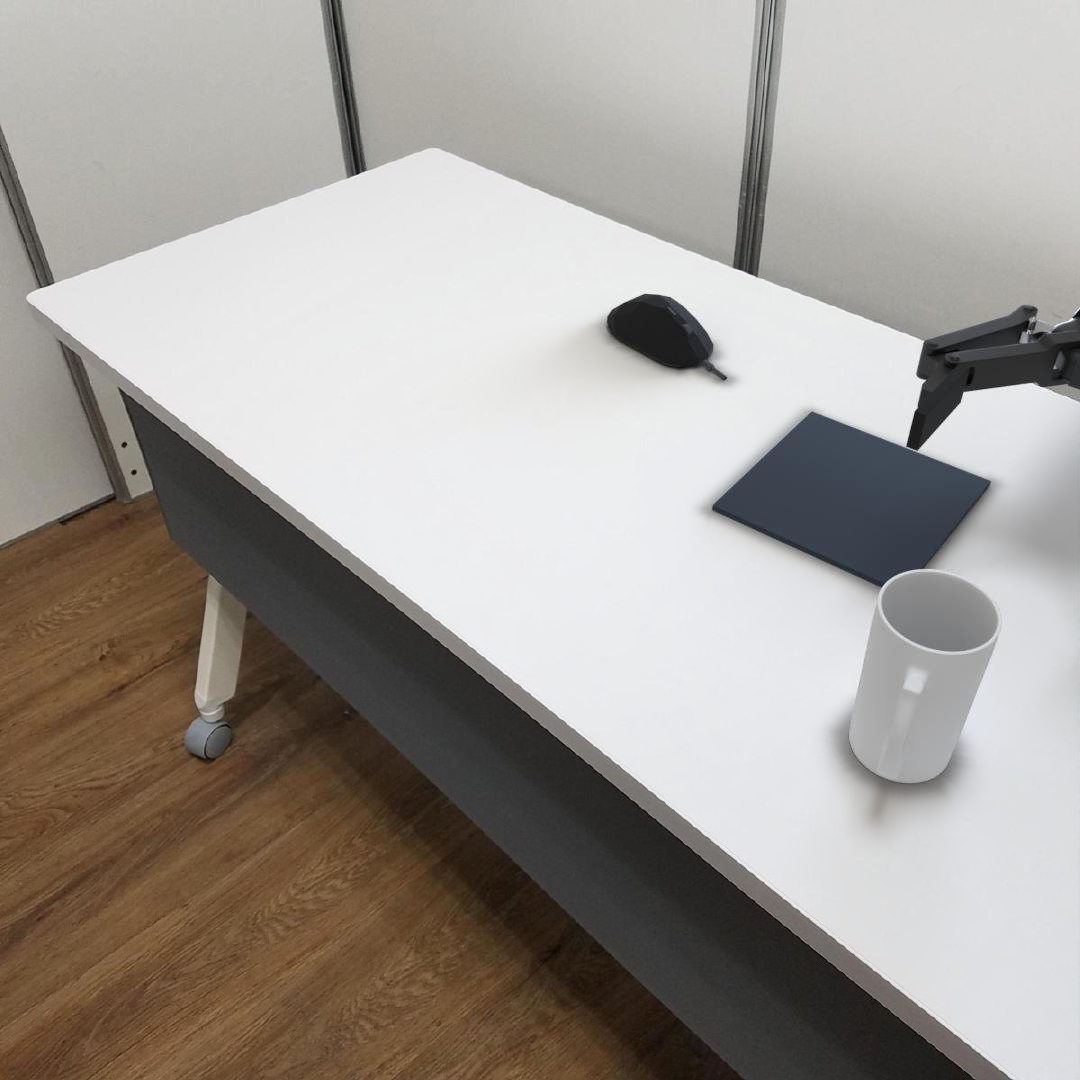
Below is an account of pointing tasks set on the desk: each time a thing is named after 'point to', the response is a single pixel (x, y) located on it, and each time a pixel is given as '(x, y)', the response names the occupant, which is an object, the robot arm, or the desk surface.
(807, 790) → the desk surface
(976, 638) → the mug
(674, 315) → the gaming mouse
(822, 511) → the mat
